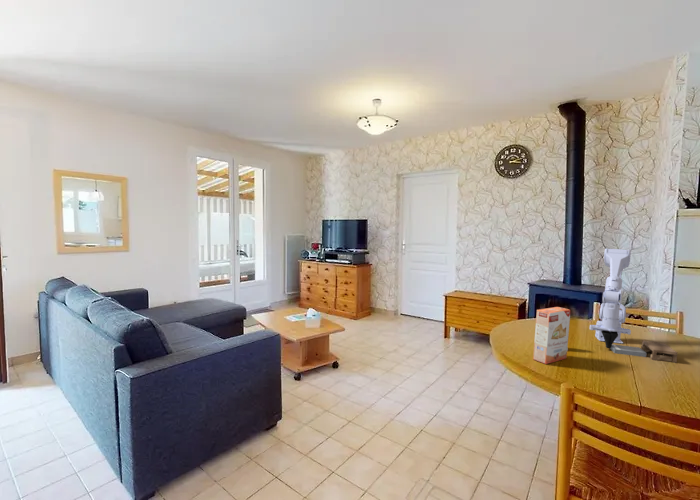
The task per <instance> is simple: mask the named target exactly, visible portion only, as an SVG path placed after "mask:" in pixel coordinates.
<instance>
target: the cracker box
mask: <svg viewBox="0 0 700 500" xmlns="http://www.w3.org/2000/svg"><path fill="white" fill-rule="evenodd" d="M570 321H571V309H568V308H565V307H560V306H554V307H548V308H541V309H536V317H535V330H534V341H533V342H534V343H533V354H532V357H533V360H534V361H537V362H539V363H542V364H544V365H548V364H551V363H555V362H559V361H563V360H566V359H567V355H568V350H567V348H568V346H569V345H568V344H569V343H568V342H569V332H570Z"/></svg>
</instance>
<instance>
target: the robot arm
mask: <svg viewBox="0 0 700 500" xmlns="http://www.w3.org/2000/svg"><path fill="white" fill-rule="evenodd" d="M603 253H604V254H603V261H604V265H605V266H606V267H608V268H609V276H608V277H607V278H605V286H604V291H603V292H602V303H601V304H600V308H599V318H598V319H600V320H597V321H596V324H589V330H590V331H595V334H594V336H595V338H596V339H597V340H598V341H600V342H604V343H605V348H606V349H609V350H611V346H612V344H614V343H616V344H624V342H623V341H622V340H621V334H626V335H632V334H631V333H632V330H631V329H630V328H624V327H622V324H624V323H626V318H627V317H626V315H627V314H626V313H627V308H626V306H625V305H624V304H623V303H622V300H623V298H622V297H623V291H622V288H623V287H622V286H623V279H622V273H623V271H624V269H626V268H629V267H630V262H631V253H632V250H631V249H629V248H628V249H622V248H608V247H605V249H604V252H603Z"/></svg>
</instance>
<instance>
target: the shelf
mask: <svg viewBox="0 0 700 500" xmlns="http://www.w3.org/2000/svg"><path fill="white" fill-rule="evenodd" d="M641 349H642V350H643V351H644V352H646V353H651V354H650V360H652V361H665V362H672V363H674V364H677V361H678V352H677V351H676V350H675V349H673V348H672V347H670V346H669V345H668V344H666V343H665V342H658V341H648V340H642V344H641Z"/></svg>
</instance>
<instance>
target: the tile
mask: <svg viewBox="0 0 700 500" xmlns="http://www.w3.org/2000/svg"><path fill="white" fill-rule="evenodd" d="M610 350H611V352H612V353H614V354H617V355H618V354H619V355H626V356H633V357H635V356H636V357H642V358H646V357H647V352H646V351H643V350H642V349H641V348H640V347H639V346H628V345H620V344H614V343H613V344H612V346H611V349H610Z"/></svg>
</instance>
